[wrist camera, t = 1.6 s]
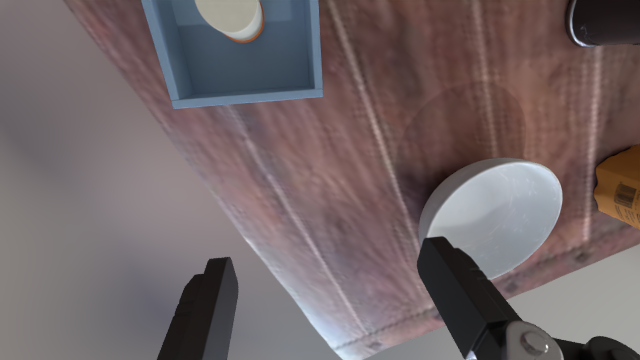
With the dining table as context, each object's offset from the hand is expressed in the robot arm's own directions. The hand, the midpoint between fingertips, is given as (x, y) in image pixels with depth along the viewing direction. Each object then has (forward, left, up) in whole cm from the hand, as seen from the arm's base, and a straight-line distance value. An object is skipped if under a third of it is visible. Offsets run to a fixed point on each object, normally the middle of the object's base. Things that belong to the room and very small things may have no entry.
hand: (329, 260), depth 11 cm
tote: (-7, -10, -24) cm, 27 cm away
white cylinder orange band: (-7, -10, -24) cm, 27 cm away
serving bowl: (-2, +31, -24) cm, 39 cm away
